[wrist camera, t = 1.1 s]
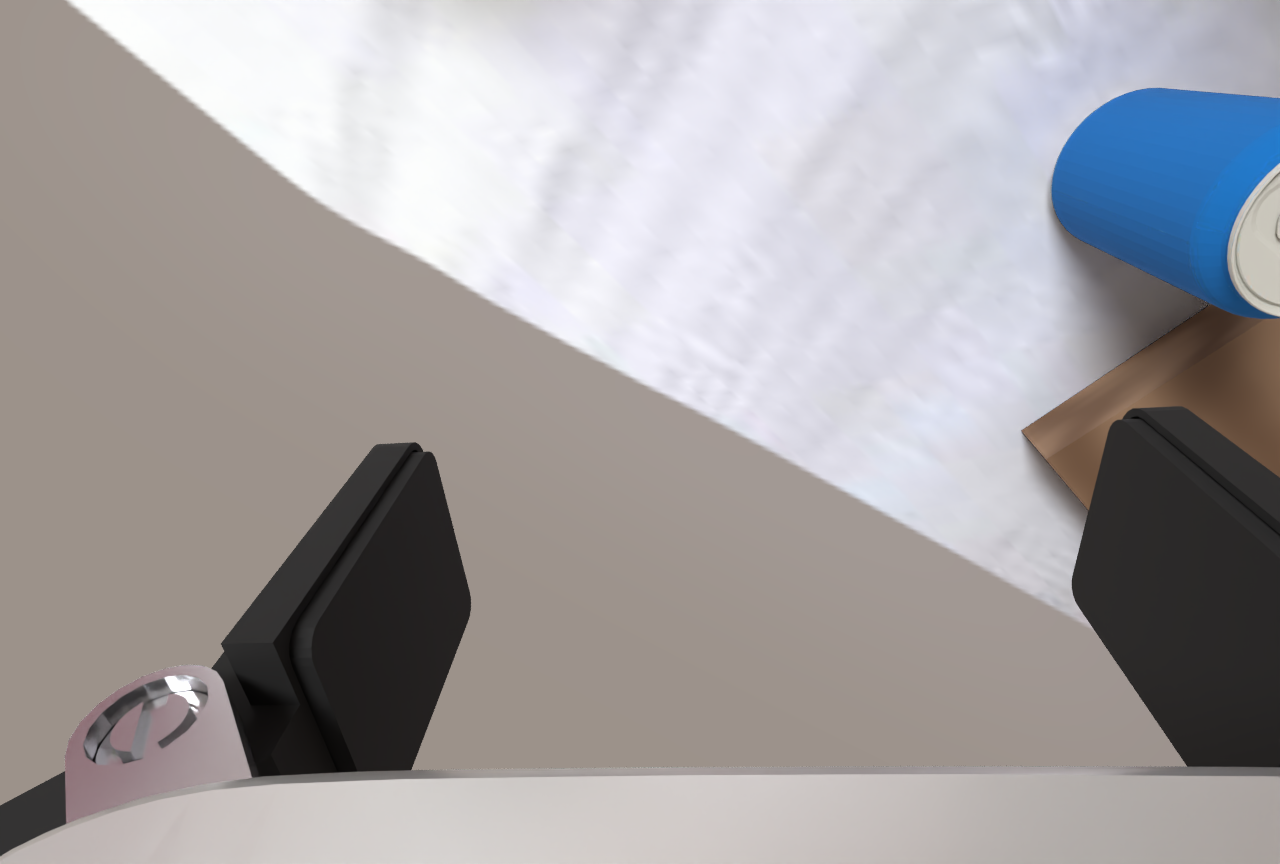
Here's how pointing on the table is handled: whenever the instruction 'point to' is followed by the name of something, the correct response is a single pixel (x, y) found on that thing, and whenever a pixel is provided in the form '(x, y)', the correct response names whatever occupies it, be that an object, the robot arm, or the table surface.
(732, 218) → the table surface
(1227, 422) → the walnut board
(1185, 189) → the beverage can
